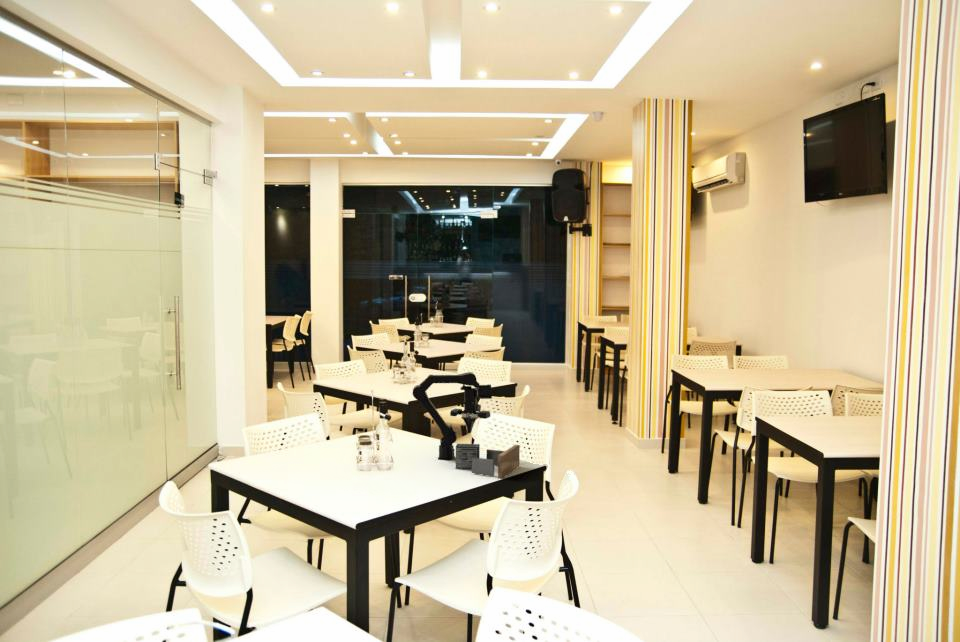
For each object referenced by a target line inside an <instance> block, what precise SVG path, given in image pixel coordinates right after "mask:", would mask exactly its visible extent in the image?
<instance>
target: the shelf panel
mask: <svg viewBox="0 0 960 642" xmlns="http://www.w3.org/2000/svg"><path fill="white" fill-rule="evenodd" d="M520 447H521V445H519V444H514V445H513V446H512V447H509V448H507V449H506V450H503V451H504V452H503V453H501V454H500V455H498V466H497V471H498V472H497V479H499V478H500V480H502V479H505V478H506V477H507V476H508V475H510V474H511V473H513V472H514V471H515V470H514V469H516V468H517V467H518V468H520V451H521V450H520ZM518 468H517V469H518ZM517 469H516V470H517ZM513 470H514V471H513ZM512 471H513V472H512ZM510 472H511V473H510ZM509 473H510V474H509ZM506 475H507V476H506ZM505 476H506V477H505Z"/></svg>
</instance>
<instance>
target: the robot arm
mask: <svg viewBox="0 0 960 642" xmlns="http://www.w3.org/2000/svg"><path fill="white" fill-rule="evenodd" d="M433 384H459V385H462V386H461V387H460V390H461V391H464V392H463V393H464V394H463V395H464V397H463V399H464V400H463V402H462V403H463V408H464V409H462V408H453V409H451V410H450V412H449V416H451V417H457V416H458V415H460V416H461V418H460V419H462V420H463V421H464V423H465V426H466V427H467V430H468V431H469V432H471V433H472V431H473V428H474V425H475V423H476V420H478V419H489V418H490V417H491V411H490V410H482V409H481V408H482V405H481V404H479V403H478V400H477V398H479V399H480V400H492V399H493V391H492V385H491V384H489V383H488V384H480V382H478V381H477V377H476V374H475V373H474V372H471V371H469V372H463V373H460V374H429V375H428V376H427V377H426V378H425V379H424V380H423V381H422V382H421V383H419V384H417V385H415V386H414V387H413V388H412V396H413V397H414V399H415V400H416V401H418V402H419V403H420V404H421V405H422V406H423V407H424V408H425V410H426V411H427V412H428V414H429V416H430V417H431V419H433V421H434V422H435V424H436V425H437V426H438V428H439V429H440V432H441V434H442V437H441V438H440V440H439V445H438V457H437V458H438V459H437V460H443V459H444V460H443V461H451V460H453V459H454V457H455V458H456V455H455V448H454V447H455V446H454V444H455V442H456V441H457V438H458V437H457V429H455V428H454V426H453V425H452V423H451V424H448V423H447V422H446V421H445V420H444V418H443V417H442V416H441V414H440V413H439V411H438V409H437V408H436V407H435V405H434V404H433V403H432V401H431V400H430V398H429V396H428V393H427V391H428V389H429V388H430V387H431V386H432V385H433Z"/></svg>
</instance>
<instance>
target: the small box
mask: <svg viewBox="0 0 960 642" xmlns="http://www.w3.org/2000/svg"><path fill="white" fill-rule="evenodd" d="M480 446H481V445H480V443H457V444H456V445H455V469H456V468H462V469H461V470H472V458H481V457H480V453H481V452H480Z"/></svg>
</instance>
